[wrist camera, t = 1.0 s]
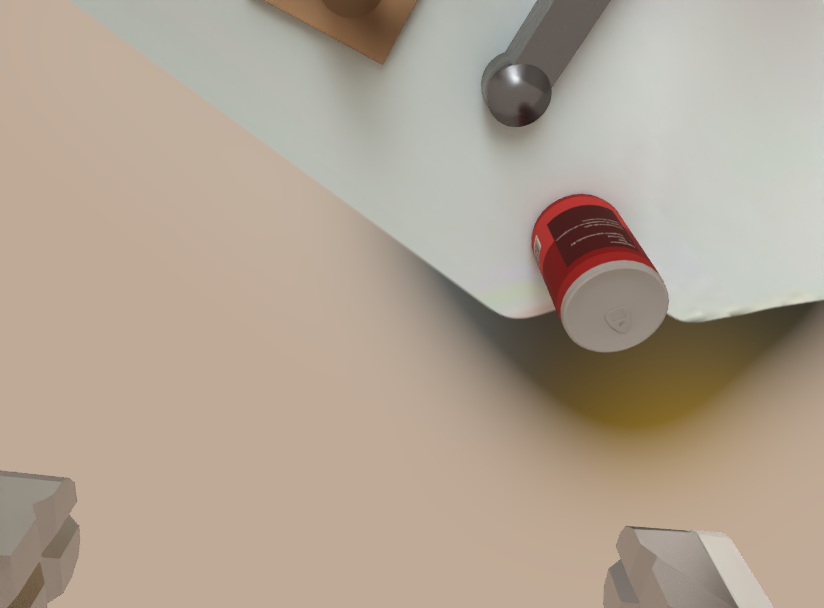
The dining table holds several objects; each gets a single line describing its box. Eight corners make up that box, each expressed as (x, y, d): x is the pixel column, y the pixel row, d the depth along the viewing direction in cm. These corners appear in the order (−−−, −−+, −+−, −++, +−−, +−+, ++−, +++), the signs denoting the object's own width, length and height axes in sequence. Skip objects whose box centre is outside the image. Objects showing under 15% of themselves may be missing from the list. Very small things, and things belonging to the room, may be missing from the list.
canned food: (570, 286, 61) (609, 369, 52) (509, 237, 58) (539, 317, 49) (639, 228, 58) (692, 305, 49) (579, 172, 55) (624, 245, 46)
